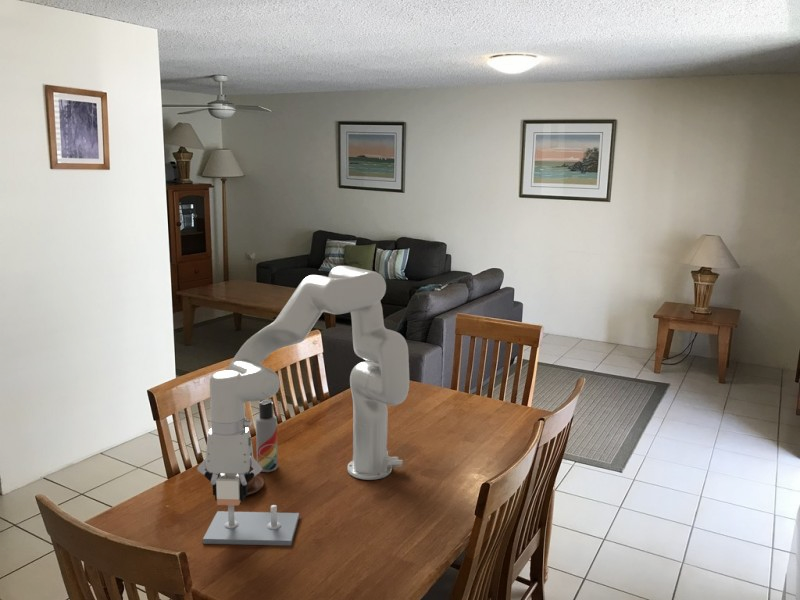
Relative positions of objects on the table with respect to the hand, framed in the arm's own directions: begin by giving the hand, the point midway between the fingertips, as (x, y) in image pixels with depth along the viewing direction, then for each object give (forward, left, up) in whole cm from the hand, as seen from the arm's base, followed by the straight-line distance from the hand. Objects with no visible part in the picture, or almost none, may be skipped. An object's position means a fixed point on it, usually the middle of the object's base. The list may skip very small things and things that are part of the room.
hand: (230, 497), depth 154 cm
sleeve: (0, 0, -1) cm, 1 cm away
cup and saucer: (+2, -20, -9) cm, 22 cm away
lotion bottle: (-2, -32, -9) cm, 33 cm away
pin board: (-5, 0, -8) cm, 10 cm away
